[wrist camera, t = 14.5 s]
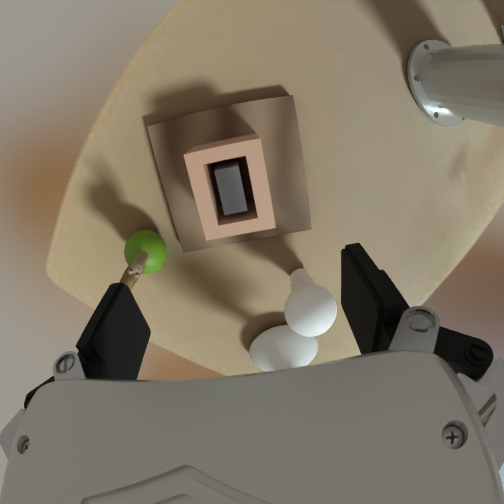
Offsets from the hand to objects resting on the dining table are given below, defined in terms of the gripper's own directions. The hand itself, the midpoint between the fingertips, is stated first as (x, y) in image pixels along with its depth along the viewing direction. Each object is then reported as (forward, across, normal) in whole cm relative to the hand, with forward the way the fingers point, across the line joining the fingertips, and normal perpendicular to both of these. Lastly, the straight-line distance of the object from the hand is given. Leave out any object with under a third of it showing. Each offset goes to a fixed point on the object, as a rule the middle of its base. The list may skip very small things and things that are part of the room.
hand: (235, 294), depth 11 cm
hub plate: (+22, +1, 0) cm, 23 cm away
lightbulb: (+23, -5, +15) cm, 28 cm away
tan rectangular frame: (+21, +1, 0) cm, 21 cm away
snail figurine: (+22, +13, +6) cm, 27 cm away
